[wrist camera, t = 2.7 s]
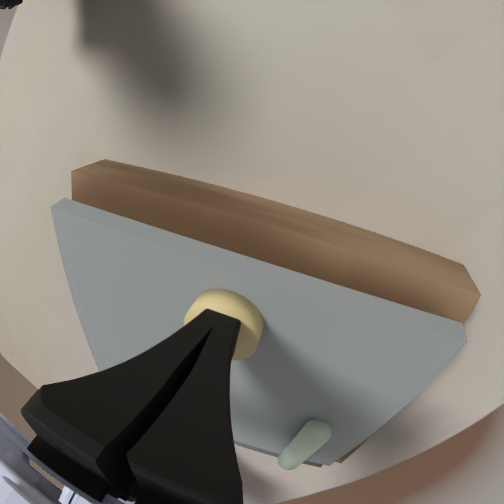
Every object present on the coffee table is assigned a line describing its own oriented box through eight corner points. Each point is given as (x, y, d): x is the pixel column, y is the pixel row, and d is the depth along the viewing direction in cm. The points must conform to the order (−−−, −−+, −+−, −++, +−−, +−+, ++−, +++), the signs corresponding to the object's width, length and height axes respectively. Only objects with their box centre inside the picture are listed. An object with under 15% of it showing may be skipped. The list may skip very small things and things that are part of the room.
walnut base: (344, 434, 23) (341, 462, 20) (117, 353, 26) (99, 374, 24) (463, 264, 14) (481, 295, 12) (104, 159, 17) (71, 171, 15)
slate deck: (327, 458, 20) (320, 485, 18) (112, 379, 23) (97, 401, 21) (462, 323, 10) (474, 372, 8) (64, 197, 13) (27, 222, 11)
